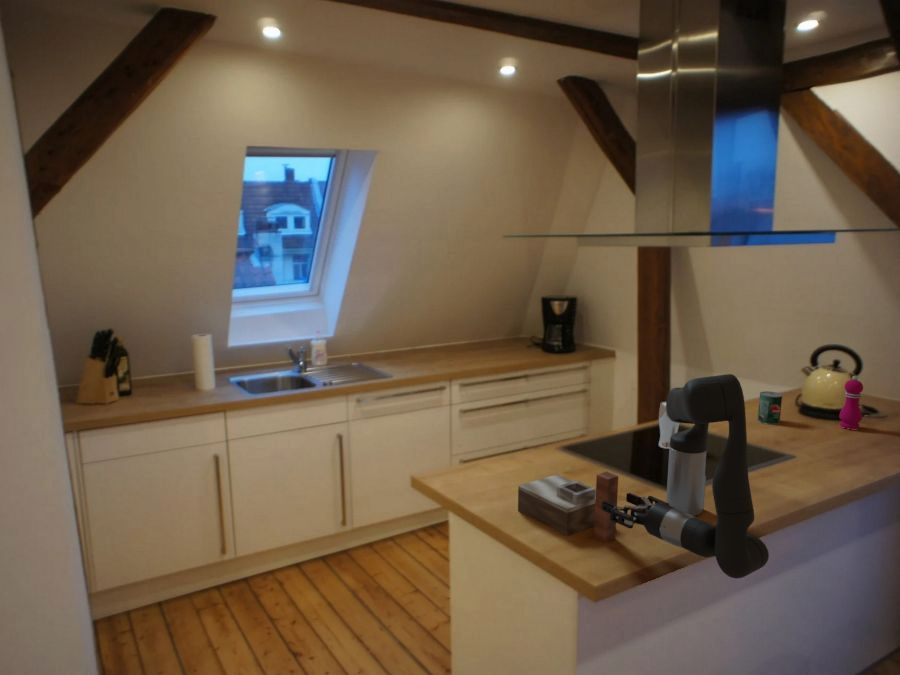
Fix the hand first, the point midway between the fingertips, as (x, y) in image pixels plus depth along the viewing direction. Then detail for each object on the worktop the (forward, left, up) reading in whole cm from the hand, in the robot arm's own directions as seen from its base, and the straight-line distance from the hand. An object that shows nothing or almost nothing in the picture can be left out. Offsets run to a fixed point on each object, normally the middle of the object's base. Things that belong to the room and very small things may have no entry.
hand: (615, 500), depth 160 cm
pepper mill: (-144, -11, -11) cm, 145 cm away
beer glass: (-70, -37, -11) cm, 80 cm away
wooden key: (0, -3, -10) cm, 11 cm away
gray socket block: (0, -18, -10) cm, 21 cm away
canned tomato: (-127, -33, -11) cm, 132 cm away
